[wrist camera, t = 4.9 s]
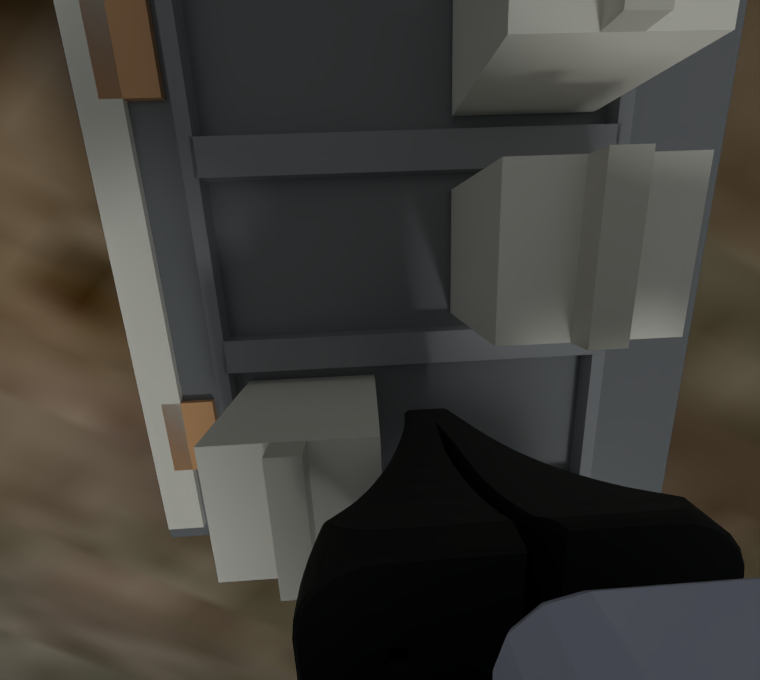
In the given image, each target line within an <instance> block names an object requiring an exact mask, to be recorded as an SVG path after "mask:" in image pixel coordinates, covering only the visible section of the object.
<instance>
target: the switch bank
mask: <svg viewBox="0 0 760 680" xmlns="http://www.w3.org/2000/svg"><path fill="white" fill-rule="evenodd" d="M53 1H54V6H55V11H56V15H57V20H58V24H59V29H60V33H61V38H62V43H63V47H64V52H65V56H66V61H67V65H68V70H69V75H70V79H71V84H72V88H73V93H74V97H75V102H76V107H77V111H78V116H79V120H80V125H81V129H82V134H83V139H84V143H85V148H86V152H87V157H88V162H89V166H90V171H91V175H92V180H93V184H94V189H95V194H96V198H97V203H98V207H99V212H100V216H101V221H102V226H103V230H104V235H105V239H106V244H107V248H108V253H109V258H110V262H111V267H112V271H113V276H114V280H115V285H116V290H117V294H118V299H119V303H120V308H121V312H122V317H123V322H124V326H125V331H126V335H127V340H128V344H129V349H130V354H131V358H132V363H133V367H134V372H135V376H136V381H137V386H138V390H139V395H140V399H141V404H142V409H143V413H144V418H145V422H146V427H147V431H148V436H149V441H150V445H151V450H152V454H153V459H154V463H155V468H156V473H157V477H158V482H159V486H160V491H161V495H162V500H163V505H164V509H165V514H166V518H167V523H168V527H169V530H170V532H171V537H183V536H198V535H210V532H209V527H208V522H207V516H206V511H205V506H204V500H203V495H202V489H201V484H200V479H199V473H198V468H197V463H196V457H195V452H194V446H195V445H196V444H197V443H198V442H199V440H200V439H201V438H202V437H203V436H204V434H205V433H206V432H207V431H208V430H209V429H210V427H211V426H212V425H213V424H214V423H215V421H216V420H217V419H218V418H219V417H220V415H221V414H222V413H223V412H224V411H225V410H226V408H227V407H228V406H229V405H230V404H231V402H232V401H233V400H234V399H235V398H236V397H237V395H238V394H239V393H240V392H241V391H242V389H243V388H244V387H245V386H246V385H247V383H248V382H249V381H258V380H277V379H296V378H314V377H333V376H352V375H370V374H375V385H376V396H377V407H378V417H379V428H380V442H381V464H382V473H383V471H384V470H385V468H386V467H387V465H388V464H389V462H390V460H391V458H392V457H393V455H394V453H395V451H396V448H397V446H398V444H399V442H400V439H401V436H402V433H403V430H404V426H405V425H404V414H405V413H406V412H407V411H408V410H420V409H438V408H445V409H447V410H449V411H450V412H452V413H453V414H455V415H456V416H458V417H459V418H461V419H462V420H464V421H465V422H467V423H468V424H470V425H471V426H473V427H474V428H476V429H478V430H479V431H481V432H482V433H484V434H486V435H488V436H489V437H491V438H493V439H494V440H496V441H498V442H500V443H502V444H504V445H506V446H507V447H509V448H511V449H513V450H515V451H518V452H520V453H522V454H524V455H527V456H529V457H531V458H534V459H536V460H538V461H541V462H543V463H546V464H549V465H551V466H554V467H557V468H560V469H563V470H566V471H569V472H572V473H575V474H578V475H582V476H585V477H589V478H592V479H596V480H600V481H604V482H608V483H612V484H616V485H621V486H625V487H630V488H635V489H641V490H646V491H652V492H657V493H661V491H662V485H663V480H664V474H665V468H666V462H667V457H668V451H669V445H670V440H671V434H672V428H673V422H674V417H675V411H676V405H677V400H678V394H679V388H680V382H681V377H682V371H683V365H684V360H685V354H686V348H687V342H688V337H689V331H690V325H691V320H692V314H693V308H694V302H695V297H696V291H697V285H698V280H699V274H700V268H701V262H702V257H703V251H704V245H705V240H706V234H707V228H708V222H709V217H710V211H711V205H712V200H713V194H714V188H715V182H716V177H717V171H718V165H719V160H720V154H721V148H722V143H723V137H724V131H725V125H726V120H727V114H728V108H729V103H730V97H731V91H732V85H733V80H734V74H735V68H736V63H737V57H738V51H739V45H740V40H741V34H742V28H743V23H744V17H745V11H746V5H747V0H740V2H739V8H738V14H737V20H736V26H735V30H733V31H731V32H730V33H728V34H726V35H725V36H723V37H721V38H719V39H718V40H716V41H714V42H713V43H711V44H709V45H707V46H706V47H704V48H702V49H701V50H699V51H697V52H695V53H694V54H692V55H690V56H689V57H687V58H685V59H683V60H682V61H680V62H678V63H677V64H675V65H673V66H671V67H670V68H668V69H666V70H665V71H663V72H661V73H660V74H658V75H656V76H654V77H653V78H651V79H649V80H648V81H646V82H644V83H642V84H641V85H639V86H637V87H636V88H634V89H632V90H630V91H629V92H627V93H625V94H624V95H622V96H620V97H618V98H617V99H615V100H613V101H612V102H610V103H608V104H606V105H605V106H603V107H601V108H600V109H598V110H596V111H594V112H575V113H540V114H506V115H471V116H452V40H453V0H53ZM655 143H656V147H655V152H657V151H687V150H714V155H713V160H712V166H711V172H710V178H709V184H708V190H707V196H706V201H705V207H704V213H703V219H702V225H701V231H700V236H699V242H698V248H697V254H696V260H695V266H694V272H693V277H692V283H691V289H690V295H689V301H688V307H687V313H686V318H685V324H684V330H683V336H682V337H669V338H650V339H631V340H630V341H629V348H625V349H606V350H586V349H584V348H582V347H579V346H577V345H575V344H573V343H553V344H533V345H514V346H494V345H493V344H491V343H490V342H489V341H487V340H486V339H485V338H483V337H482V336H481V335H479V334H478V333H477V332H475V331H474V330H473V329H471V328H470V327H469V326H467V325H466V324H465V323H463V322H462V321H461V320H459V319H458V318H457V317H455V316H454V315H453V314H451V313H450V290H451V190H452V189H453V188H455V187H456V186H458V185H459V184H461V183H463V182H464V181H466V180H467V179H469V178H470V177H472V176H473V175H475V174H477V173H478V172H480V171H481V170H483V169H484V168H486V167H487V166H489V165H491V164H492V163H494V162H495V161H497V160H498V159H500V158H501V157H506V156H536V155H566V154H589V153H591V152H594V151H596V150H599V149H601V148H604V147H606V146H608V145H624V144H655Z"/></svg>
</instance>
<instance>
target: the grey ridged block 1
mask: <svg viewBox="0 0 760 680" xmlns="http://www.w3.org/2000/svg"><path fill="white" fill-rule="evenodd" d="M194 452H195V457H196V463H197V468H198V473H199V479H200V484H201V489H202V495H203V500H204V506H205V511H206V516H207V522H208V527H209V532H210V538H211V543H212V549H213V554H214V559H215V565H216V570H217V575H218V581H219V582H232V581H246V580H260V579H274V578H278V583H279V590H280V597H281V601H288V600H297V597H298V592H299V587H300V583H301V580H302V577H303V573H304V570H305V567H306V564H307V561H308V558H309V556H310V553H311V551H312V548H313V546H314V543H315V541H316V539H317V536H318V534H319V532H320V530H321V527H322V525H323V524H324V523H325V522H326V521H327V520H329V519H331V518H332V517H334V516H335V515H337V514H338V513H340V512H341V511H343V510H344V509H346V508H347V507H349V506H350V505H352V504H353V503H354V502H355V501H357V500H358V499H359V498H360V497H361V496H362V495H363V494H364V493H365V492H366V491H367V490H368V489H369V488H370V487H371V486H372V485H373V484H374V483H375V481H376V480H377V479H378V478H379V476H380V475H381V474H382V464H381V442H380V428H379V417H378V407H377V396H376V385H375V374H370V375H352V376H333V377H314V378H296V379H277V380H258V381H249V382H248V383H247V385H246V386H245V387H244V388H243V389H242V391H241V392H240V393H239V394H238V395H237V397H236V398H235V399H234V400H233V401H232V402H231V404H230V405H229V406H228V407H227V408H226V410H225V411H224V412H223V413H222V414H221V415H220V417H219V418H218V419H217V420H216V421H215V423H214V424H213V425H212V426H211V427H210V429H209V430H208V431H207V432H206V433H205V434H204V436H203V437H202V438H201V439H200V440H199V442H198V443H197V444H196V445H195V446H194Z"/></svg>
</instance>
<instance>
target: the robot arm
mask: <svg viewBox="0 0 760 680" xmlns="http://www.w3.org/2000/svg"><path fill="white" fill-rule="evenodd" d="M404 425H405V426H404V430H403V433H402V436H401V439H400V442H399V444H398V446H397V448H396V451H395V453H394V455H393V457H392V458H391V460H390V462H389V464H388V465H387V467H386V468H385V470H384V471H383V473H382V474H381V475H380V476H379V478H378V479H377V480H376V481H375V483H374V484H373V485H372V486H371V487H370V488H369V489H368V490H367V491H366V492H365V493H364V494H363V495H362V496H361V497H360V498H359V499H358V500H357V501H355V502H354V503H353V504H352V505H350V506H349V507H347V508H346V509H344V510H343V511H341V512H340V513H338V514H337V515H335V516H334V517H332V518H331V519H329V520H327V521H326V522H325V523H324V524H323V525H322V527H321V530H320V532H319V534H318V536H317V539H316V541H315V543H314V546H313V548H312V551H311V553H310V556H309V558H308V561H307V564H306V567H305V570H304V573H303V577H302V580H301V583H300V587H299V592H298V597H297V602H296V608H295V613H294V619H293V637H292V640H293V648H294V656H295V663H296V671H297V679H298V680H760V577H758V578H744V562H743V558H742V554H741V549H740V547H739V546H738V544H737V543H736V541H735V540H734V539H733V537H732V536H731V534H730V533H728V532H727V531H726V530H725V529H723V528H722V527H721V526H720V525H718V524H717V523H716V522H715V521H713V520H712V519H711V518H709V517H708V516H707V515H706V514H704V513H703V512H702V511H701V510H699V509H698V508H697V507H696V506H694V505H693V504H692V503H690V502H689V501H688V500H687V499H685V498H684V497H680V496H674V495H669V494H663V493H657V492H652V491H646V490H641V489H635V488H630V487H625V486H621V485H616V484H612V483H608V482H604V481H600V480H596V479H592V478H589V477H585V476H582V475H578V474H575V473H572V472H569V471H566V470H563V469H560V468H557V467H554V466H551V465H549V464H546V463H543V462H541V461H538V460H536V459H534V458H531V457H529V456H527V455H524V454H522V453H520V452H518V451H515V450H513V449H511V448H509V447H507V446H506V445H504V444H502V443H500V442H498V441H496V440H494V439H493V438H491V437H489V436H488V435H486V434H484V433H482V432H481V431H479V430H478V429H476V428H474V427H473V426H471V425H470V424H468V423H467V422H465V421H464V420H462V419H461V418H459V417H458V416H456V415H455V414H453V413H452V412H450V411H449V410H447V409H445V408H438V409H420V410H408V411H407V412H406V413H405V414H404ZM743 578H744V579H743Z"/></svg>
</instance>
